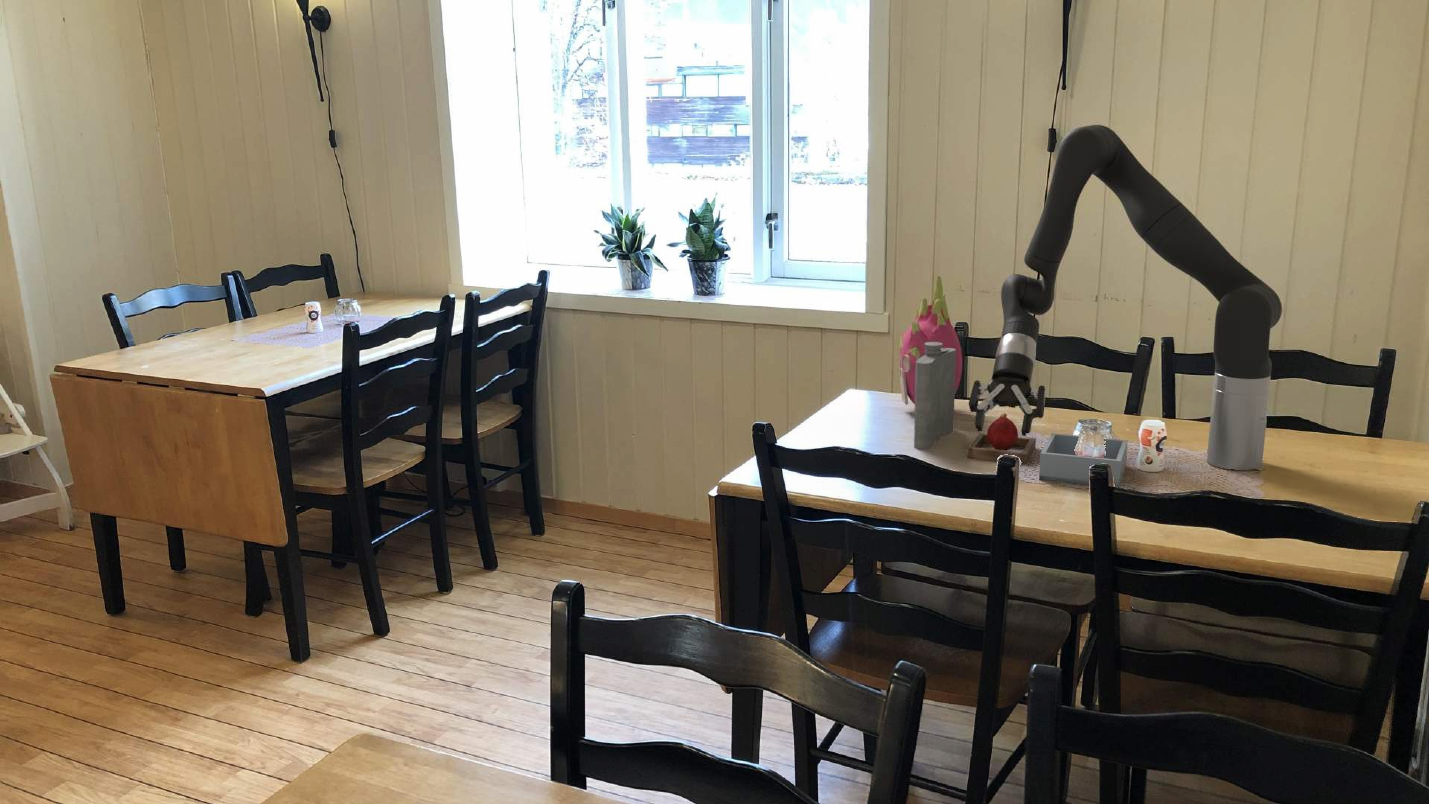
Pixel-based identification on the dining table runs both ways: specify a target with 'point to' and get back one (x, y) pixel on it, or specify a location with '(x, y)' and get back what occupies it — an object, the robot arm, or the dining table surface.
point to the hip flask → (934, 394)
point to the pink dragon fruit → (927, 328)
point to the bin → (1078, 460)
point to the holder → (993, 454)
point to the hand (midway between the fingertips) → (1001, 431)
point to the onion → (1002, 433)
